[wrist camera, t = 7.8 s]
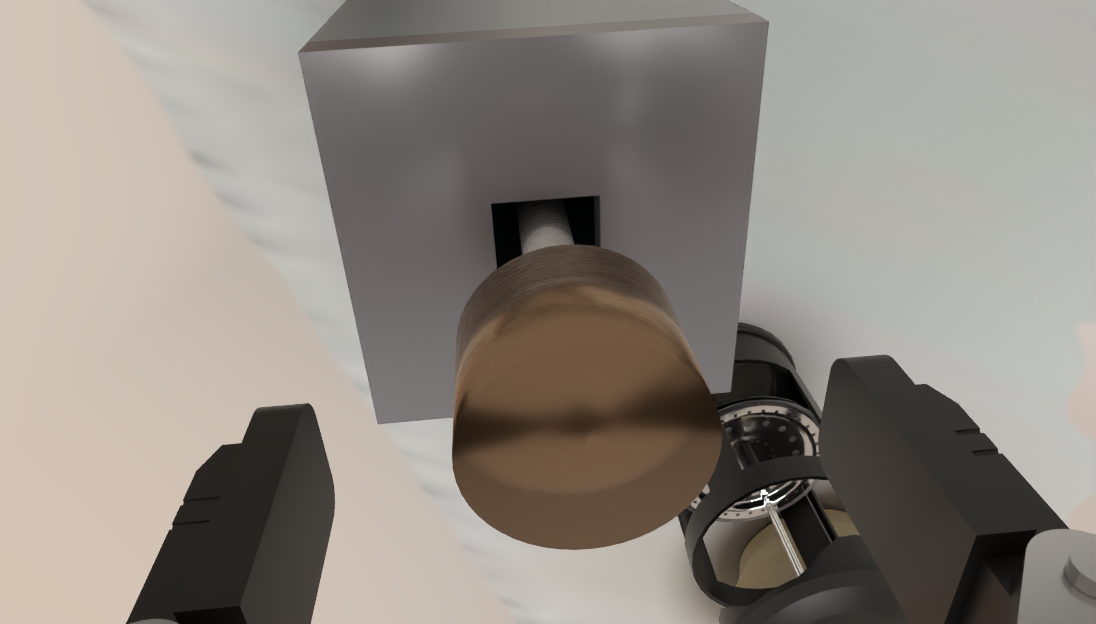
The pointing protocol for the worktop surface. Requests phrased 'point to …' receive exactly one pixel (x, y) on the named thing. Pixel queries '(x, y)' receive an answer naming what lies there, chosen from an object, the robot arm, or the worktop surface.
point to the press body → (531, 160)
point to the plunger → (577, 395)
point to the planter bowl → (779, 554)
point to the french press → (782, 507)
